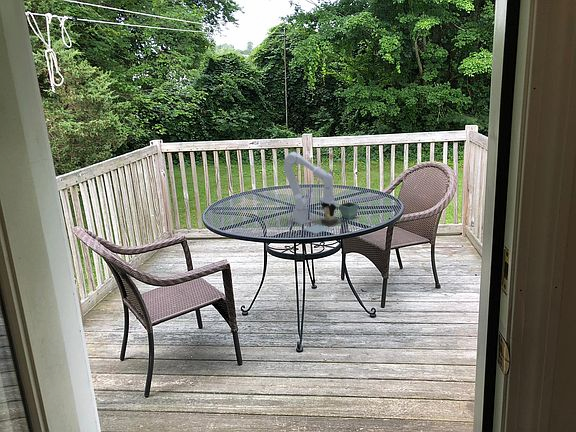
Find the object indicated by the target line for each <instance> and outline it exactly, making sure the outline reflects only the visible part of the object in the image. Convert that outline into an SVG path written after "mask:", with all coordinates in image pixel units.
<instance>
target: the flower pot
mask: <svg viewBox="0 0 576 432" xmlns="http://www.w3.org/2000/svg"><path fill="white" fill-rule="evenodd" d="M338 207H339V213H340V215H341V217H342V218H344V219H345V220H346V219H347V220H351V219H355V218H356V216H357V215H358V211H359V204H357V203H353V202H350V201H348V202H345V203H341V204H338Z"/></svg>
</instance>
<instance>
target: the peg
mask: <svg viewBox="0 0 576 432" xmlns="http://www.w3.org/2000/svg"><path fill="white" fill-rule="evenodd" d="M324 210H325V212H324V218H325V220H328V221H330V220H334V217H335V214H334V215H333V216H330V211H329V207H328V206H327V207H324V209H323V211H324Z"/></svg>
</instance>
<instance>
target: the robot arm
mask: <svg viewBox="0 0 576 432" xmlns="http://www.w3.org/2000/svg"><path fill="white" fill-rule="evenodd" d="M295 164H296V165H302V166H304V167H305V168H306V169H308V170H309V171H311V172H312V175H313V176H315V177H316V178H318V179H319V180H320V181H322V183H323V198H320V199H319V203H320V205H321V208H322V209H323V212H324V213H325V210H324V207H327V206H328V207H329V211H330V216H333V215H334V216H335V211H336V208H337V207H339V202H338V201H336V200H335V199H334V184H333V183H334V176H333V175H332V173H330V172H329V171H326V170H324V169H323V166H315V165H314V164H312V162H310V161H308V160H307V159H306V158H305V157H304V156H303V155H301V154H300V153H298V152H296V151H291V152H290V153H287V155H286V156H285V158H284V163H283V173H284V174H285V176H286V180H287V181H288V184H289V186H290V189H291V191H292V193H293V196H294V197H293V198H294V204H295V205H294V206H295V207H294V208H293V210H292V218H293V219H292V222H293V223H297V224H300V225H303V224H307V223H310V222H311V220H310V219H309V211H308V209H309V208H308V203H309V202H308V198H307V197H306V196H305V195H304V193H303V191H302V190H301V187H300V185H299V183H298V179H297V177H296V174H295V172H294V170H293V168H294V165H295Z"/></svg>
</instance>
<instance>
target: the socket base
mask: <svg viewBox="0 0 576 432" xmlns="http://www.w3.org/2000/svg"><path fill="white" fill-rule="evenodd" d="M346 222H348V220H346V219H342V218H338V217H335V216H334V220H330V221H328V220H325V217H323V218H319V219H316V220H313V221H312V220H311V223H313V224H316V225H317V224H318V225H321V226H324V227H328V228H332V227H334V226H337V225H340V224H342V223H343V224H344V223H346Z"/></svg>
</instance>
